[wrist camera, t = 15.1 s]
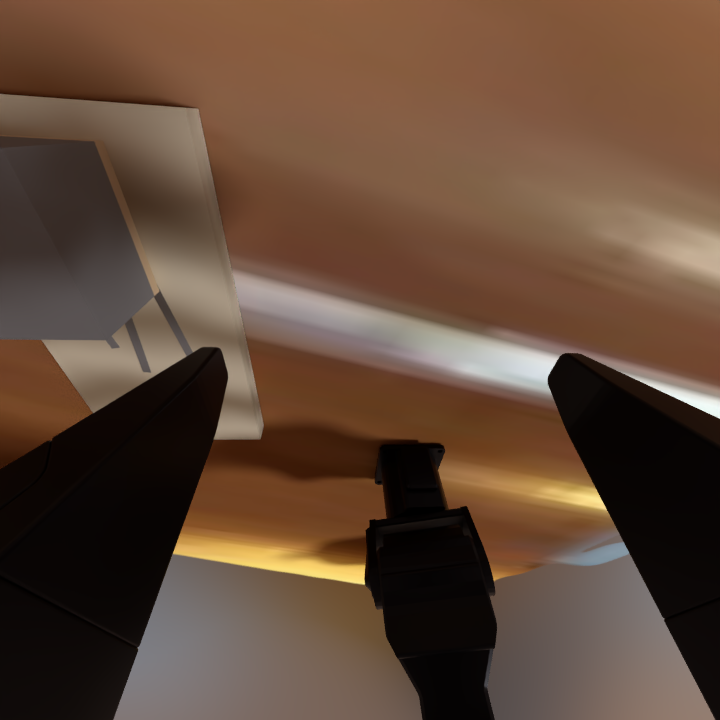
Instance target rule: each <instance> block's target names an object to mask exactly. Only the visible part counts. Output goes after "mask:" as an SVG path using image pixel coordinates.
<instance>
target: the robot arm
mask: <svg viewBox="0 0 720 720" xmlns="http://www.w3.org/2000/svg"><path fill="white" fill-rule="evenodd" d="M227 382H228V371H227V368H226V364H225V360H224V357H223V353H222V351H221V349H220V348H218V347H201V348H199V349H198V350H196V351H194V352H193V353H191V354H190V355H188V356H186V357H185V358H183V359H181V360H180V361H178V362H176V363H175V364H173V365H171V366H170V367H168V368H167V369H165V370H163V371H162V372H160V373H158V374H157V375H155V376H153V377H152V378H150V379H148V380H147V381H145V382H144V383H142V384H140V385H139V386H137V387H135V388H134V389H132V390H130V391H129V392H127V393H126V394H124V395H122V396H121V397H119V398H117V399H116V400H114V401H112V402H111V403H109V404H107V405H106V406H104V407H102V408H101V409H99V410H98V411H96V412H94V413H93V414H91V415H89V416H88V417H86V418H84V419H83V420H81V421H79V422H78V423H76V424H75V425H73V426H71V427H70V428H68V429H66V430H65V431H63V432H61V433H60V434H58V435H56V436H55V437H53V438H52V441H46V442H45V443H43V444H42V445H40V446H38V447H37V448H35V449H33V450H32V451H30V452H28V453H27V454H25V455H24V456H22V457H20V458H18V459H17V460H15V461H13V462H12V463H10V464H8V465H7V466H5V467H3V468H2V469H0V720H113V719H114V716H115V713H116V710H117V708H118V705H119V702H120V699H121V696H122V694H123V691H124V688H125V685H126V683H127V680H128V677H129V674H130V672H131V668H132V666H133V663H134V660H135V657H136V655H137V652H138V648H137V647H139V645H140V643H141V640H142V637H143V635H144V632H145V629H146V626H147V624H148V621H149V618H150V615H151V612H152V610H153V607H154V604H155V601H156V599H157V596H158V593H159V590H160V587H161V585H162V582H163V579H164V576H165V574H166V571H167V568H168V565H169V562H170V560H171V557H172V554H173V551H174V549H175V546H176V543H177V540H178V538H179V535H180V532H181V529H182V526H183V524H184V521H185V518H186V515H187V513H188V510H189V507H190V504H191V501H192V499H193V496H194V493H195V490H196V488H197V485H198V482H199V479H200V476H201V474H202V471H203V468H204V465H205V463H206V460H207V457H208V454H209V451H210V449H211V446H212V443H213V440H214V437H215V434H216V430H217V427H218V422H219V418H220V413H221V409H222V405H223V400H224V396H225V391H226V387H227ZM548 385H549V388H550V390H551V393H552V396H553V398H554V401H555V403H556V406H557V408H558V411H559V413H560V416H561V418H562V421H563V424H564V426H565V428H566V431H567V433H568V435H569V437H570V439H571V441H572V443H573V445H574V447H575V449H576V451H577V453H578V455H579V457H580V458H581V460H582V462H583V464H584V466H585V468H586V470H587V472H588V474H589V476H590V478H591V480H592V482H593V484H594V485H595V487H596V489H597V491H598V493H599V495H600V497H601V499H602V501H603V503H604V505H605V507H606V509H607V511H608V513H609V514H610V516H611V518H612V520H613V522H614V524H615V526H616V528H617V530H618V532H619V534H620V536H621V538H622V539H623V541H624V543H625V545H626V547H627V549H628V551H629V553H630V555H631V557H632V559H633V561H634V563H635V564H636V567H637V568H638V570H639V572H640V574H641V576H642V578H643V580H644V582H645V584H646V586H647V588H648V590H649V592H650V594H651V596H652V597H653V599H654V601H655V603H656V605H657V607H658V609H659V611H660V613H661V615H662V617H663V618H665V619H664V621H665V623H666V625H667V627H668V629H669V631H670V633H671V635H672V637H673V639H674V641H675V642H676V644H677V646H678V648H679V650H680V652H681V654H682V656H683V658H684V660H685V662H686V664H687V666H688V668H689V669H690V672H691V673H692V675H693V677H694V679H695V681H696V683H697V685H698V687H699V689H700V691H701V693H702V695H703V697H704V699H705V701H706V703H707V704H708V706H709V708H710V710H711V712H712V714H713V716H714V718H715V720H720V419H719V418H717V417H715V416H712V415H710V414H708V413H706V412H704V411H702V410H700V409H697V408H695V407H693V406H691V405H689V404H687V403H685V402H683V401H680V400H678V399H676V398H674V397H672V396H670V395H668V394H665V393H663V392H661V391H659V390H657V389H655V388H653V387H650V386H648V385H646V384H644V383H642V382H640V381H638V380H635V379H633V378H631V377H629V376H627V375H625V374H623V373H621V372H618V371H616V370H614V369H612V368H610V367H608V366H606V365H603V364H601V363H599V362H597V361H595V360H593V359H591V358H588V357H586V356H584V355H582V354H578V353H565V354H562V355H561V356H560V357H559V359H558V360H557V362H556V364H555V365H554V367H553V369H552V371H551V372H550V374H549V376H548ZM444 453H445V448H444V446H443V445H384V446H381V447H380V448H379V455H378V461H377V467H376V473H375V484H377V485H383V492H384V500H385V509H386V517H387V519H381V520H376V519H373V520H370V527H369V528H368V529H366V543H367V554H366V566H365V585H366V587H368V589H369V590H370V591H371V592H372V596H373V598H374V602H375V606H376V608H377V609H383V614H384V623H385V631H386V637H387V639H388V641H389V643H390V645H391V647H392V649H393V651H394V653H395V655H396V657H397V658H398V659H399V661H400V662H401V664H402V666H403V668H404V669H405V671H406V673H407V674H408V677H409V678H410V680H411V682H412V684H413V685H414V687H415V689H416V691H417V693H418V695H419V698H420V706H421V712H422V719H423V720H495V719H494V715H493V711H492V707H491V703H490V699H489V695H488V690H487V686H488V680H489V673H490V666H491V660H492V654H493V649H494V648H495V642H496V633H497V623H496V618H495V615H494V611H493V608H492V604H491V600H490V596H494V595H495V586H494V581H493V576H492V572H491V568H490V565H489V562H488V558H487V555H486V553H485V550H484V547H483V545H482V542H481V540H480V537H479V535H478V533H477V530H476V528H475V525H474V523H473V520H472V518H471V515H470V513H469V510H468V508H467V506H463V507H460V508H457V509H450V510H449V508H448V505H447V501H446V498H445V494H444V490H443V487H442V483H441V480H440V476H439V472H438V468H439V466H440V463H441V461H442V458H443V455H444Z"/></svg>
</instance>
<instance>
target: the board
mask: <svg viewBox="0 0 720 720" xmlns="http://www.w3.org/2000/svg"><path fill="white" fill-rule="evenodd" d="M0 135H11V136H28V137H46V138H64V139H81V140H99V141H103V142H104V145H105V147H106V150H107V153H108V155H109V158H110V161H111V163H112V166H113V169H114V171H115V174H116V177H117V179H118V182H119V185H120V187H121V190H122V193H123V195H124V198H125V200H126V203H127V206H128V208H129V211H130V214H131V216H132V219H133V222H134V224H135V227H136V230H137V232H138V235H139V238H140V240H141V243H142V246H143V248H144V251H145V254H146V256H147V259H148V262H149V264H150V267H151V270H152V272H153V275H154V278H155V280H156V283H157V286H158V288H159V292H158V293H157V294H156V295H155V296H154V297H153V298H152V299H151V300H150V301H149V302H148V303H147V304H145V305H144V306H143V307H142V308H141V309H140V310H139V311H138V312H137V313H136V314H135V315H134V316H133V317H132V318H130V319H129V320H128V321H127V322H126V323H125V324H124V325H123V326H122V327H121V328H120V329H119V330H118V331H116V332H115V333H114V334H113V335H112V336H111V337H110V338H109V339H108V340H42V341H43V343H44V344H45V346H46V347H47V348H48V350H49V351H50V353H51V354H52V356H53V357H54V358H55V360H56V361H57V363H58V364H59V365H60V367H61V368H62V370H63V371H64V372H65V374H66V375H67V377H68V378H69V380H70V381H71V382H72V384H73V385H74V387H75V388H76V389H77V391H78V392H79V394H80V395H81V396H82V398H83V399H84V401H85V402H86V404H87V405H88V406H89V408H90V409H91V411H92V412H93V413H94V412H96V411H98V410H99V409H101V408H102V407H104V406H106V405H107V404H109V403H111V402H112V401H114V400H116V399H117V398H119V397H121V396H122V395H124V394H126V393H127V392H129V391H130V390H132V389H134V388H135V387H137V386H139V385H140V384H142V383H144V382H145V381H147V380H148V379H150V378H152V377H153V376H155V375H157V374H158V373H160V372H162V371H163V370H165V369H167V368H168V367H170V366H171V365H173V364H175V363H176V362H178V361H180V360H181V359H183V358H185V357H186V356H188V355H190V354H191V353H193V352H194V351H196V350H198V349H199V348H201V347H218V348H220V349H221V351H222V353H223V357H224V360H225V364H226V368H227V371H228V382H227V387H226V391H225V396H224V400H223V405H222V409H221V413H220V418H219V422H218V427H217V430H216V434H215V437H214V440H232V439H261V435H262V431H263V427H264V424H263V419H262V414H261V409H260V404H259V399H258V395H257V390H256V385H255V380H254V375H253V371H252V366H251V361H250V356H249V351H248V346H247V342H246V337H245V332H244V327H243V322H242V317H241V313H240V308H239V303H238V298H237V293H236V289H235V284H234V279H233V274H232V269H231V264H230V260H229V255H228V250H227V245H226V240H225V235H224V231H223V226H222V221H221V216H220V211H219V207H218V202H217V197H216V192H215V187H214V182H213V178H212V173H211V168H210V163H209V158H208V153H207V149H206V144H205V139H204V134H203V129H202V125H201V120H200V115H199V110H198V109H196V108H183V107H169V106H156V105H142V104H129V103H116V102H102V101H89V100H75V99H62V98H49V97H35V96H22V95H8V94H0Z"/></svg>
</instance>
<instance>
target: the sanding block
mask: <svg viewBox="0 0 720 720" xmlns="http://www.w3.org/2000/svg"><path fill="white" fill-rule="evenodd" d="M158 292H159V288H158V286H157V283H156V280H155V278H154V275H153V272H152V270H151V267H150V264H149V262H148V259H147V256H146V254H145V251H144V248H143V246H142V243H141V240H140V238H139V235H138V232H137V230H136V227H135V224H134V222H133V219H132V216H131V214H130V211H129V208H128V206H127V203H126V200H125V198H124V195H123V193H122V190H121V187H120V185H119V182H118V179H117V177H116V174H115V171H114V169H113V166H112V163H111V161H110V158H109V155H108V153H107V150H106V147H105V145H104V142H103V141H99V140H81V139H64V138H46V137H28V136H11V135H0V339H29V340H108V339H109V338H110V337H111V336H112V335H113V334H114V333H115V332H116V331H118V330H119V329H120V328H121V327H122V326H123V325H124V324H125V323H126V322H127V321H128V320H129V319H130V318H132V317H133V316H134V315H135V314H136V313H137V312H138V311H139V310H140V309H141V308H142V307H143V306H144V305H145V304H147V303H148V302H149V301H150V300H151V299H152V298H153V297H154V296H155V295H156V294H157V293H158Z"/></svg>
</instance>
